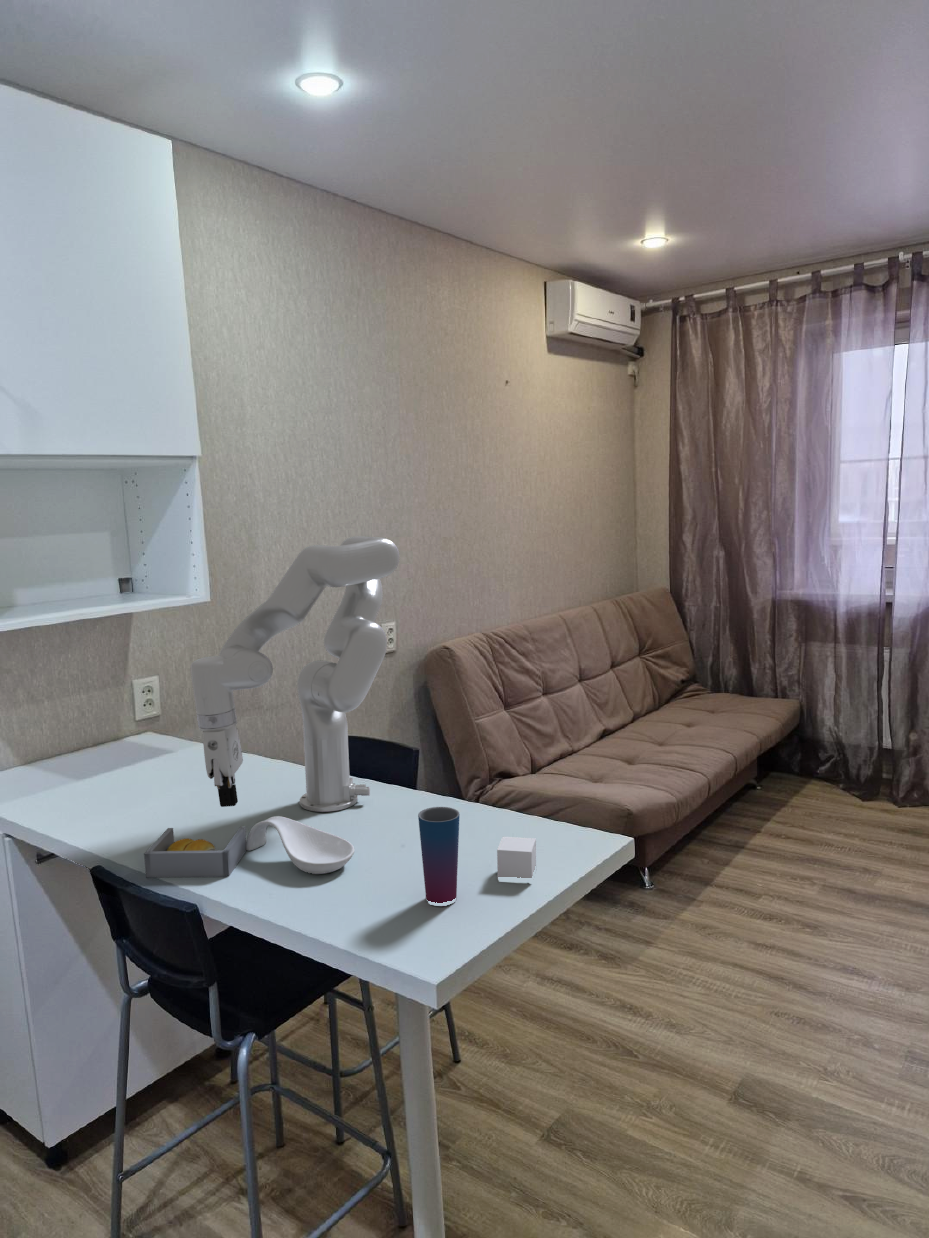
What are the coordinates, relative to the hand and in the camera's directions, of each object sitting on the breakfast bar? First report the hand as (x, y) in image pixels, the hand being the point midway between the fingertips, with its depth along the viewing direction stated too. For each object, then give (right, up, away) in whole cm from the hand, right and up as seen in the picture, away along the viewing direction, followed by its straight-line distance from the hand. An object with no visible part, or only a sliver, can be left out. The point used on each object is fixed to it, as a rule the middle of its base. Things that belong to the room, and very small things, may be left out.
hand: (229, 804), depth 178 cm
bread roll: (-3, -8, -14) cm, 16 cm away
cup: (+44, -9, -32) cm, 55 cm away
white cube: (+57, -8, -24) cm, 62 cm away
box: (-2, -8, -15) cm, 17 cm away
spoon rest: (+17, -8, -15) cm, 24 cm away
